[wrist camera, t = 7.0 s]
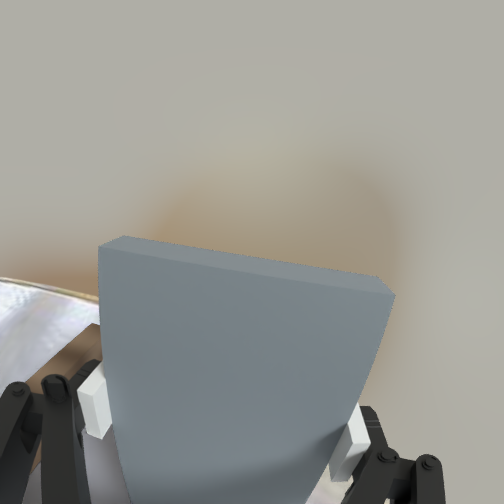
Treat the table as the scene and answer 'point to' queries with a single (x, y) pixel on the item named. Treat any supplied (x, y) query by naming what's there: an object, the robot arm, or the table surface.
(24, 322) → the table surface
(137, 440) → the slotted plate
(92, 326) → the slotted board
